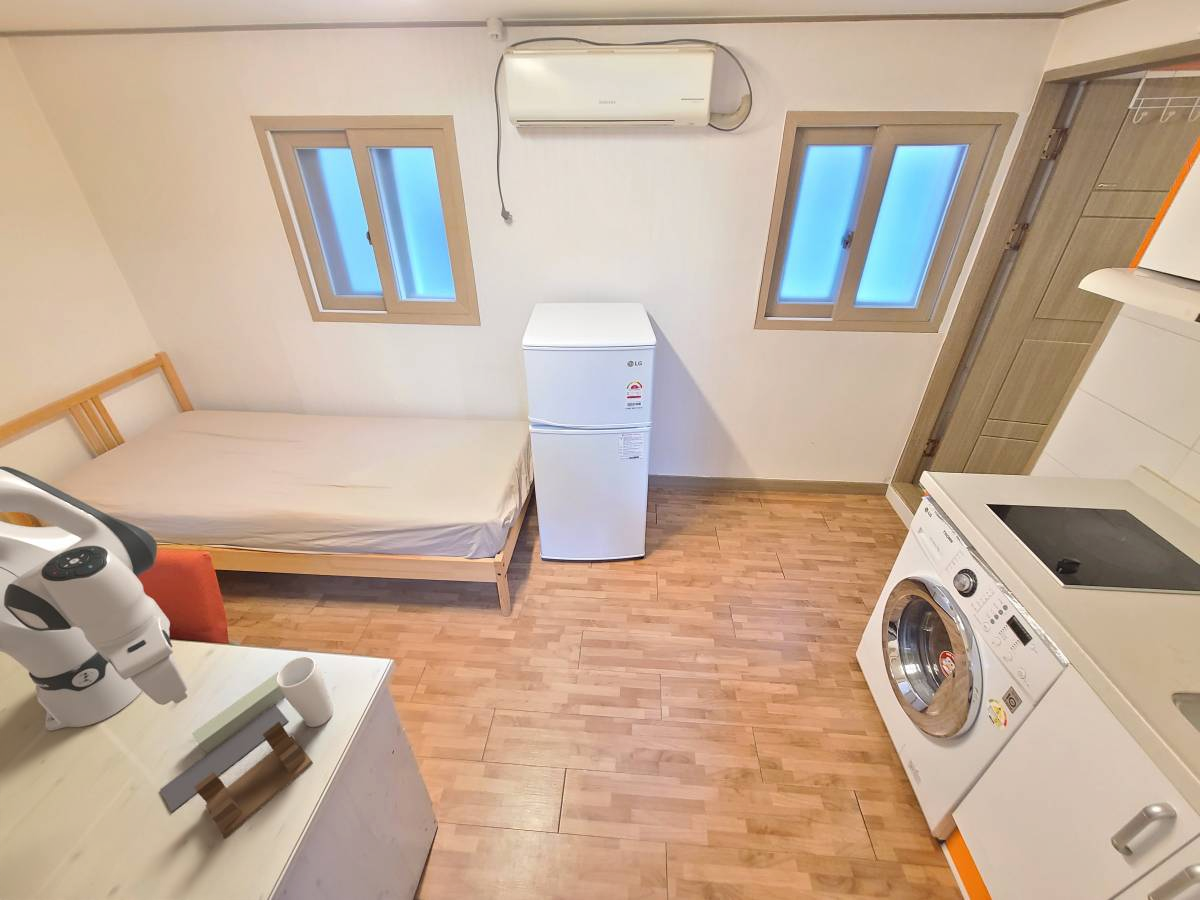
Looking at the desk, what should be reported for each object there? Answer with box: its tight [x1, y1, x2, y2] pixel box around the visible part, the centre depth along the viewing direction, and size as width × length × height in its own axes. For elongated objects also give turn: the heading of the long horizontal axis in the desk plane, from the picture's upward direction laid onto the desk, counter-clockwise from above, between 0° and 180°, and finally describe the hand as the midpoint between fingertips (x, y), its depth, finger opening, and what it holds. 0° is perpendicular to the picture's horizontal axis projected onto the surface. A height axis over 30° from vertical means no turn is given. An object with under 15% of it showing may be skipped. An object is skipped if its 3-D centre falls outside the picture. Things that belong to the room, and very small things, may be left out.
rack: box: [194, 722, 313, 839], centre depth 88 cm, size 8×15×6 cm, turn 144°
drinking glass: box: [277, 656, 334, 728], centre depth 96 cm, size 7×7×15 cm
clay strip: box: [191, 671, 285, 755], centre depth 100 cm, size 16×4×4 cm, turn 144°
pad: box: [159, 703, 289, 813], centre depth 94 cm, size 6×20×1 cm, turn 144°
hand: (173, 682), depth 86 cm, fingers open, 8 cm apart
